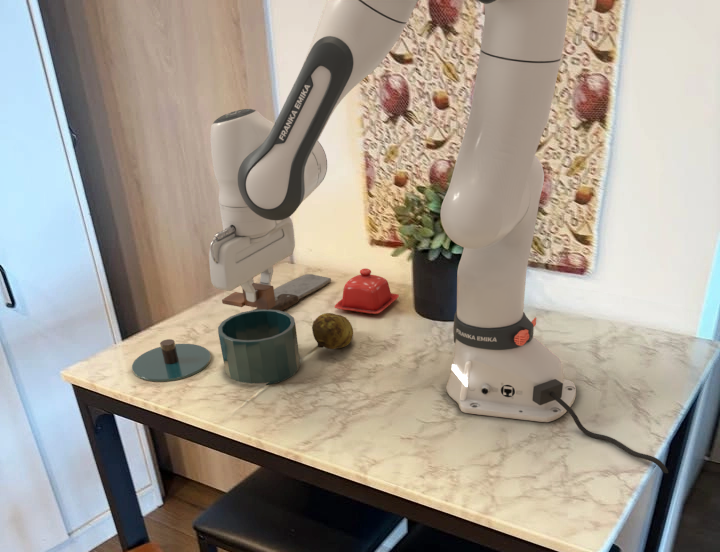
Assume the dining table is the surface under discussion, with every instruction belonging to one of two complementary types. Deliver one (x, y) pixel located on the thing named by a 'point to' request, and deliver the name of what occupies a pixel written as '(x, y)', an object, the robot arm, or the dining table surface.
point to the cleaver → (296, 290)
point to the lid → (171, 362)
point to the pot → (259, 346)
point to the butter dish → (366, 294)
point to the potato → (332, 331)
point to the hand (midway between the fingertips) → (259, 296)
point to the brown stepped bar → (263, 302)
